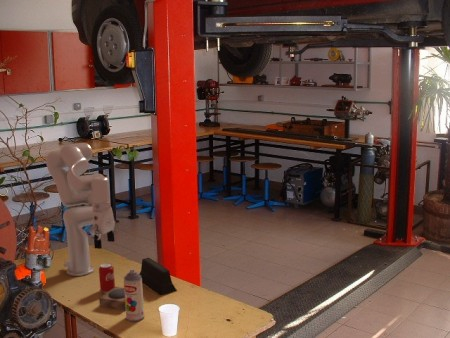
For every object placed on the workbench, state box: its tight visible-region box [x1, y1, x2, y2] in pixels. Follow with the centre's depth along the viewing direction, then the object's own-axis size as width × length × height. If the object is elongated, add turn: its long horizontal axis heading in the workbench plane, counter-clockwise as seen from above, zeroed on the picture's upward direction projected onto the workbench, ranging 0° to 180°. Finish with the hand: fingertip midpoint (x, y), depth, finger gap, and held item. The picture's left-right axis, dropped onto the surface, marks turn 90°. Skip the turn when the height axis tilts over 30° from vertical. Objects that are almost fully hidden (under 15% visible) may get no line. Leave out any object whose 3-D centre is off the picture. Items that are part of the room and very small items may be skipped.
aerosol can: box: [123, 268, 145, 323], centre depth 214 cm, size 7×7×20 cm
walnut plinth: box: [98, 286, 126, 312], centre depth 229 cm, size 12×12×4 cm
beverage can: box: [98, 262, 116, 294], centre depth 241 cm, size 6×6×12 cm
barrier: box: [138, 257, 178, 297], centre depth 247 cm, size 24×9×10 cm, turn 34°
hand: (104, 244), depth 238 cm, fingers open, 9 cm apart
